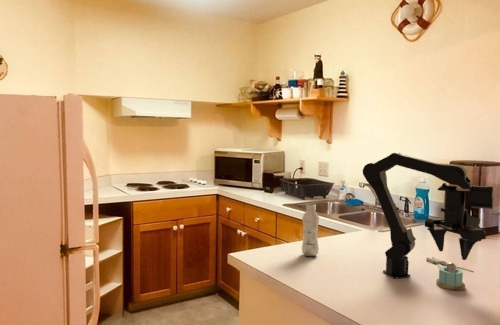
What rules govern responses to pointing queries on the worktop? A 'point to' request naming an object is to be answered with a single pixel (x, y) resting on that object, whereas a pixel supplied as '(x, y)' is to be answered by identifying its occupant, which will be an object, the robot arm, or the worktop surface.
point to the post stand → (451, 268)
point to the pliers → (439, 262)
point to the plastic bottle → (310, 231)
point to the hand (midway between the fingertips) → (452, 255)
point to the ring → (450, 277)
